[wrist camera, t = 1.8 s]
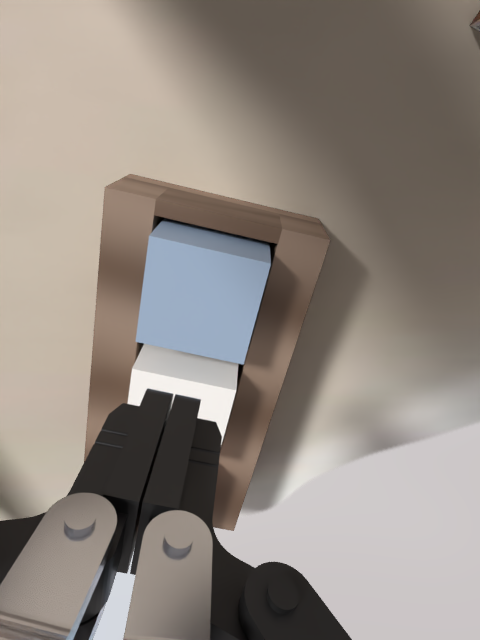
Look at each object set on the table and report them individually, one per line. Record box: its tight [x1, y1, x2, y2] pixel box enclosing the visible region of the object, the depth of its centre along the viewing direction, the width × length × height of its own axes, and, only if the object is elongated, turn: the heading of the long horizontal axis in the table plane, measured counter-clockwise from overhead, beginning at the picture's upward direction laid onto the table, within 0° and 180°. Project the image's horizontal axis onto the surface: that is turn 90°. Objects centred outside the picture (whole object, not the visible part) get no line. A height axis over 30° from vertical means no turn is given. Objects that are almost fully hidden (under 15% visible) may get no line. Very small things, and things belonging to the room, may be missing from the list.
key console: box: [84, 174, 330, 531], centre depth 24 cm, size 20×10×4 cm, turn 167°
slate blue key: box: [136, 218, 271, 365], centre depth 19 cm, size 5×5×3 cm
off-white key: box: [128, 344, 238, 445], centre depth 22 cm, size 5×5×3 cm
